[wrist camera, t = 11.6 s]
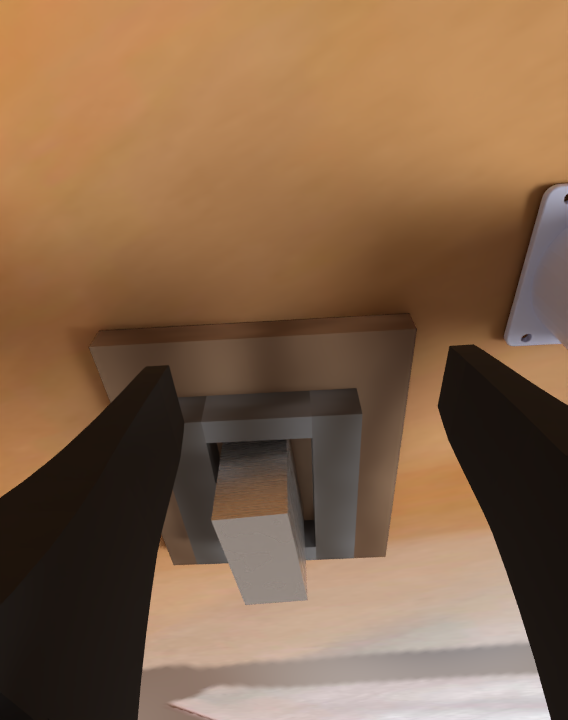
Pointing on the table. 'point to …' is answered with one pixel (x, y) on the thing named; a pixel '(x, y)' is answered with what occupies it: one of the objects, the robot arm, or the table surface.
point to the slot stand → (281, 418)
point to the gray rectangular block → (261, 520)
